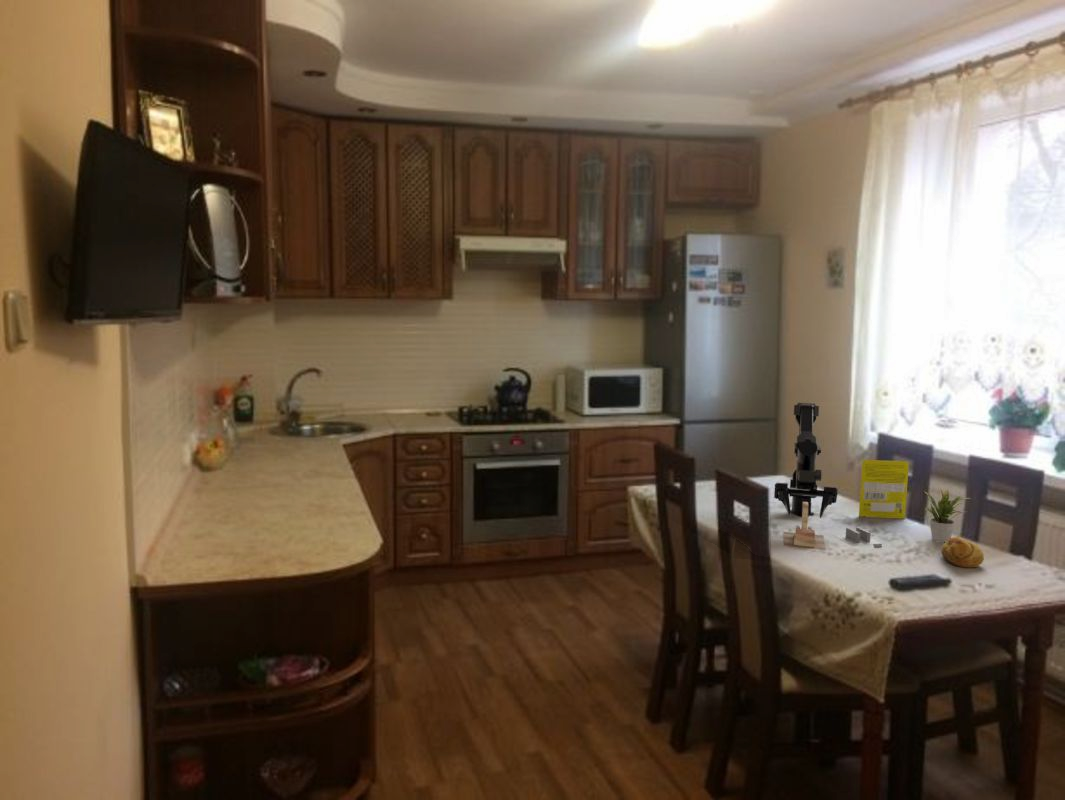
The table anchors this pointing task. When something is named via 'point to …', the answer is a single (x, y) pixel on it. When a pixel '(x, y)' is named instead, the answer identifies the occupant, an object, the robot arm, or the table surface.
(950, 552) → the bread roll
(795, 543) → the lower offcut
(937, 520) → the house plant
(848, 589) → the table surface
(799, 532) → the upper offcut
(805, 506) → the tan wooden block
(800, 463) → the robot arm
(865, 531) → the slate stand
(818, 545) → the offcut rack
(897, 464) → the food package
